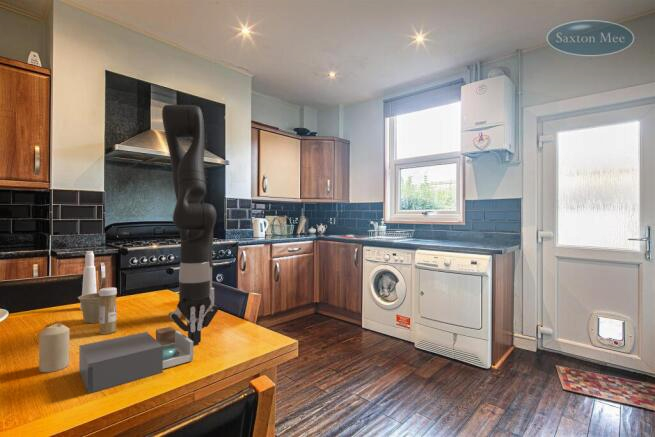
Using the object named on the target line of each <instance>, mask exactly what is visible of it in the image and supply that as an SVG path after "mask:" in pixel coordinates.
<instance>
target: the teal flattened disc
mask: <svg viewBox="0 0 655 437" xmlns="http://www.w3.org/2000/svg"><path fill="white" fill-rule="evenodd" d="M175 355H176V347H175V346H173V345H163V361H164V360H168V359H171V358H173V357H174V356H175Z"/></svg>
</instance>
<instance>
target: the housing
mask: <svg viewBox="0 0 655 437" xmlns="http://www.w3.org/2000/svg"><path fill="white" fill-rule="evenodd" d="M78 350H79V353H78V354H79V356H78V357H79V359H78V360H79V362H78V365H79V366H78V367H79V370H78V371H79V374H80V377H81V379H82V382H83V386H84V388H85V389H86V392H87V394H93V393H96V392H101V391H103V390H106V389H110V388H114V387H117V386H120V385H124V384H127V383H131V382H134V381H137V380H138V381H139V380H140V379H145V378H148V377H152V376H155V375H158V374H161V373H162V374H163V373H164V372H163V371H164V369H163V346H162V345H161V344H160V343H159V342H158V341H156V338H154V336H152V335H151V334H150V333H149V332H148V331H143V332H139V333H134V334H130V335H125V336H124V335H123V336H120V337H113V338H109V339H105V340H100V341H95V342H90V343H84V344H81V345H80V344H79V349H78Z"/></svg>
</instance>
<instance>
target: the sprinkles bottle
mask: <svg viewBox="0 0 655 437" xmlns="http://www.w3.org/2000/svg"><path fill="white" fill-rule="evenodd" d="M117 290H118V289H117V287H103V288H100V289H99V290H98V293H99V296H100V306H99V322H98V323H99V332H98V333H99V334H100V335H110V334H113V333H115V332H116V331H117V294H118V291H117Z"/></svg>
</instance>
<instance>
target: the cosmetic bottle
mask: <svg viewBox="0 0 655 437" xmlns="http://www.w3.org/2000/svg"><path fill="white" fill-rule="evenodd" d="M84 256H85V258H84V260H85V262H84V265H85V266H83V275H82V276H83V277H82V289H81V290H82V291H81V296H82V295H86V294H92V293H98V292H97V291H98V290H97V288H98V287H97V273H96V272H97V271H96V266H95V254H94V251H93V250H90V251H89V250H87V251H86V252H85V254H84ZM79 310H81V311H82V306H81V304H80V306H79Z"/></svg>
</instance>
